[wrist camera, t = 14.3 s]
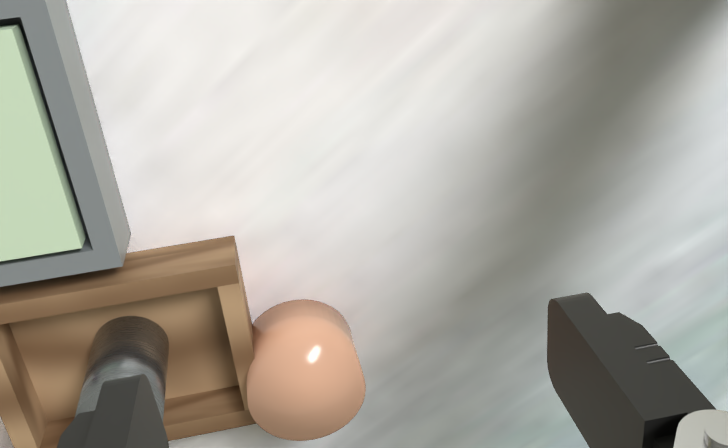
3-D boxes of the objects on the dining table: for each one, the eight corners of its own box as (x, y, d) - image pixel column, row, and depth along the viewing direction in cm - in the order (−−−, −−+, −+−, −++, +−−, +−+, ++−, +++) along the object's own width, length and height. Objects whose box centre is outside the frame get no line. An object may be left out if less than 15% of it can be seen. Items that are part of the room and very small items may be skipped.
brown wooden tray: (-25, 278, 39) (-45, 312, 36) (234, 235, 41) (235, 264, 38) (37, 428, 45) (24, 469, 41) (264, 385, 46) (267, 421, 43)
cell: (159, 309, 41) (150, 388, 35) (176, 366, 43) (171, 450, 37) (83, 324, 41) (60, 407, 34) (104, 381, 43) (86, 469, 36)
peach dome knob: (345, 290, 44) (359, 336, 40) (356, 376, 47) (370, 427, 43) (235, 310, 43) (237, 359, 39) (254, 396, 47) (257, 450, 42)
